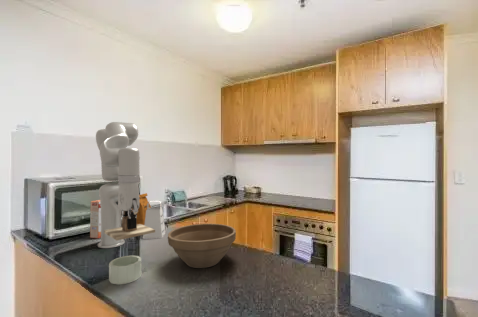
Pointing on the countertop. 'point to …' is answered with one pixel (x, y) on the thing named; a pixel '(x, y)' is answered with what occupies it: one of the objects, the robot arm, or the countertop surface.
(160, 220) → the grater
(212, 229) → the flower pot
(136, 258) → the bowl
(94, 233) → the cracker box
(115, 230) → the lid
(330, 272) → the countertop surface
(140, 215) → the coffee package
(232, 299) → the countertop surface
